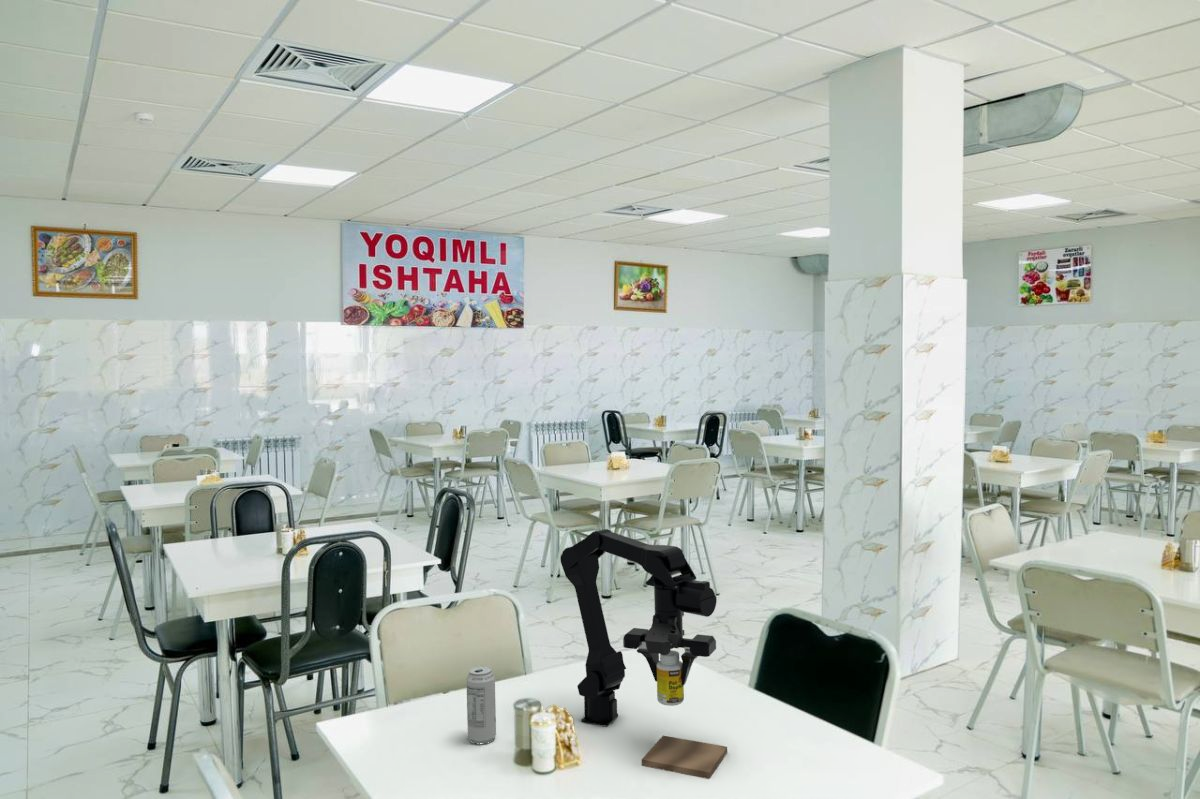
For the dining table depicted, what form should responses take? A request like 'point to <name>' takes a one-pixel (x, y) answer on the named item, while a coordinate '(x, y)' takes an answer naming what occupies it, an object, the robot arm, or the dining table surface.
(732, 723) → the dining table surface
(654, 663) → the robot arm
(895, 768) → the dining table surface
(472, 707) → the energy drink can
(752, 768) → the dining table surface
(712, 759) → the walnut board
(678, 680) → the supplement bottle
